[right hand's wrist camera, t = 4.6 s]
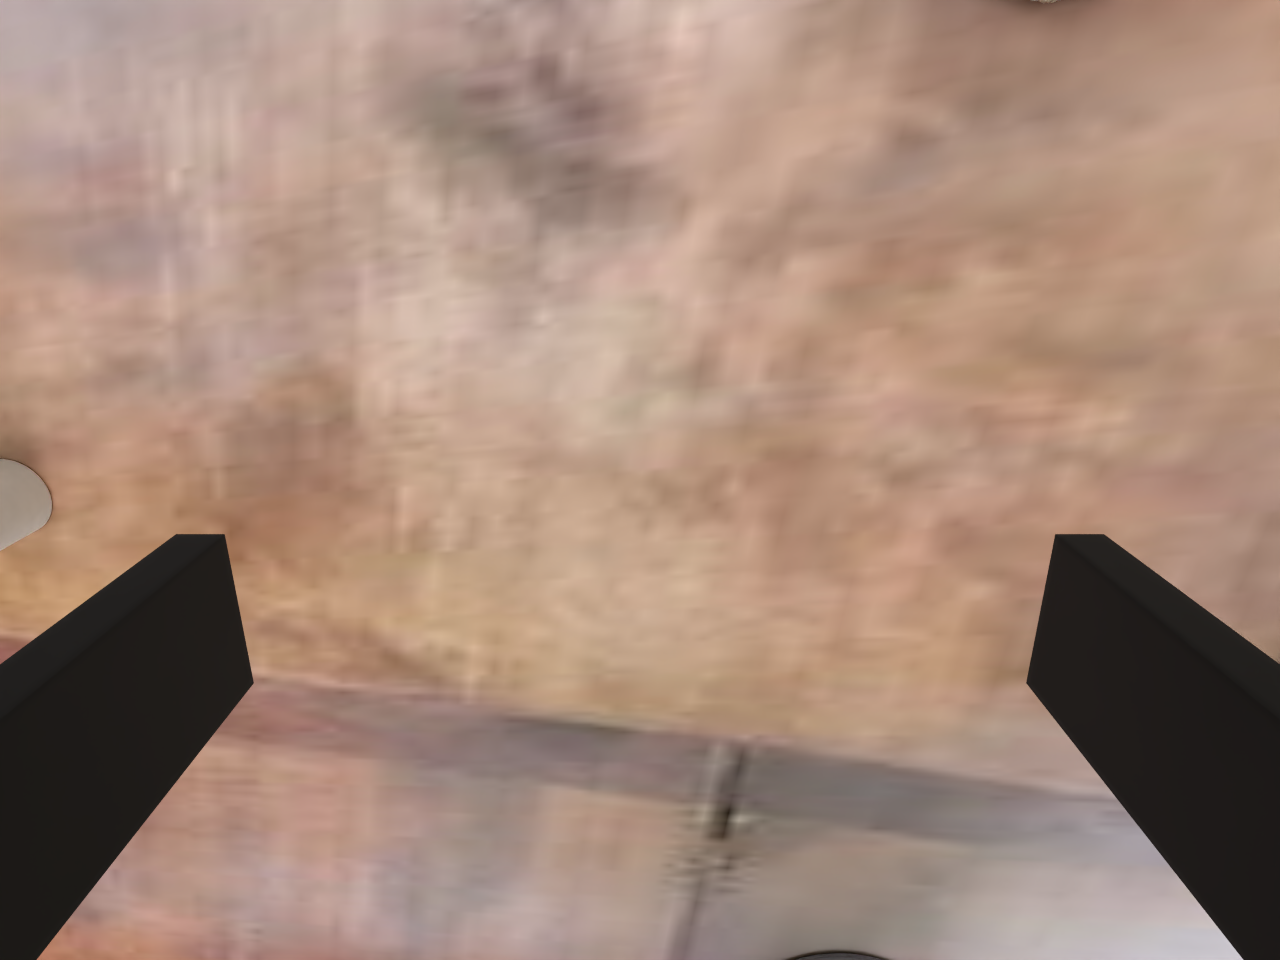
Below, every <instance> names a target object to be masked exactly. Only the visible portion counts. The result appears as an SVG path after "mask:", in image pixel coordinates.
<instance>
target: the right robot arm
mask: <svg viewBox="0 0 1280 960" xmlns="http://www.w3.org/2000/svg"><path fill="white" fill-rule="evenodd" d="M253 683H254V682H253V677H252V672H251V667H250V662H249V657H248V652H247V646H246V641H245V636H244V631H243V626H242V621H241V616H240V611H239V606H238V600H237V595H236V590H235V585H234V580H233V575H232V570H231V565H230V560H229V554H228V549H227V544H226V539H225V534H176V535H175V536H173V537H172V538H170V539H169V540H168V541H166V542H165V543H164V544H162V545H161V546H160V547H158V548H157V549H156V550H154V551H153V552H152V553H150V554H149V555H147V556H146V557H145V558H143V559H142V560H141V561H139V562H138V563H137V564H135V565H134V566H133V567H131V568H130V569H129V570H127V571H126V572H125V573H123V574H122V575H120V576H119V577H118V578H116V579H115V580H114V581H112V582H111V583H110V584H108V585H107V586H106V587H104V588H103V589H102V590H100V591H99V592H97V593H96V594H95V595H93V596H92V597H91V598H89V599H88V600H87V601H85V602H84V603H83V604H81V605H80V606H79V607H77V608H76V609H75V610H73V611H72V612H70V613H69V614H68V615H66V616H65V617H64V618H62V619H61V620H60V621H58V622H57V623H56V624H54V625H53V626H52V627H50V628H49V629H47V630H46V631H45V632H43V633H42V634H41V635H39V636H38V637H37V638H35V639H34V640H33V641H31V642H30V643H29V644H27V645H26V646H25V647H23V648H22V649H20V650H19V651H18V652H16V653H15V654H14V655H12V656H11V657H10V658H8V659H7V660H6V661H4V662H3V663H2V664H0V960H37V958H38V957H39V956H40V954H41V953H42V952H43V951H44V949H45V948H46V947H47V946H48V944H49V943H50V942H51V940H52V939H53V938H54V937H55V935H56V934H57V933H58V932H59V930H60V929H61V928H62V926H63V925H64V924H65V923H66V921H67V920H68V919H69V918H70V916H71V915H72V914H73V912H74V911H75V910H76V909H77V907H78V906H79V905H80V904H81V902H82V901H83V900H84V898H85V897H86V896H87V895H88V893H89V892H90V891H91V890H92V888H93V887H94V886H95V884H96V883H97V882H98V881H99V879H100V878H101V877H102V876H103V874H104V873H105V872H106V870H107V869H108V868H109V867H110V865H111V864H112V863H113V862H114V860H115V859H116V858H117V856H118V855H119V854H120V853H121V851H122V850H123V849H124V848H125V846H126V845H127V844H128V842H129V841H130V840H131V839H132V837H133V836H134V835H135V834H136V832H137V831H138V830H139V828H140V827H141V826H142V825H143V823H144V822H145V821H146V820H147V818H148V817H149V816H150V814H151V813H152V812H153V811H154V809H155V808H156V807H157V805H158V804H159V803H160V802H161V800H162V799H163V798H164V797H165V795H166V794H167V793H168V791H169V790H170V789H171V788H172V786H173V785H174V784H175V783H176V781H177V780H178V779H179V777H180V776H181V775H182V774H183V772H184V771H185V770H186V769H187V767H188V766H189V765H190V763H191V762H192V761H193V760H194V758H195V757H196V756H197V755H198V753H199V752H200V751H201V749H202V748H203V747H204V746H205V744H206V743H207V742H208V741H209V739H210V738H211V737H212V735H213V734H214V733H215V732H216V730H217V729H218V728H219V727H220V725H221V724H222V723H223V721H224V720H225V719H226V718H227V716H228V715H229V714H230V713H231V711H232V710H233V709H234V707H235V706H236V705H237V704H238V702H239V701H240V700H241V699H242V697H243V696H244V695H245V693H246V692H247V691H248V690H249V688H250V687H251V686H252V685H253ZM1026 683H1027V685H1028V686H1029V687H1030V688H1031V690H1032V691H1033V692H1034V693H1035V695H1036V696H1037V697H1038V699H1039V700H1040V701H1041V702H1042V704H1043V705H1044V706H1045V707H1046V709H1047V710H1048V711H1049V713H1050V714H1051V715H1052V716H1053V718H1054V719H1055V720H1056V721H1057V723H1058V724H1059V725H1060V727H1061V728H1062V729H1063V730H1064V732H1065V733H1066V734H1067V735H1068V737H1069V738H1070V739H1071V741H1072V742H1073V743H1074V744H1075V746H1076V747H1077V748H1078V749H1079V751H1080V752H1081V753H1082V755H1083V756H1084V757H1085V758H1086V760H1087V761H1088V762H1089V763H1090V765H1091V766H1092V767H1093V769H1094V770H1095V771H1096V772H1097V774H1098V775H1099V776H1100V777H1101V779H1102V780H1103V781H1104V783H1105V784H1106V785H1107V786H1108V788H1109V789H1110V790H1111V791H1112V793H1113V794H1114V795H1115V797H1116V798H1117V799H1118V800H1119V802H1120V803H1121V804H1122V805H1123V807H1124V808H1125V809H1126V811H1127V812H1128V813H1129V814H1130V816H1131V817H1132V818H1133V820H1134V821H1135V822H1136V823H1137V825H1138V826H1139V827H1140V828H1141V830H1142V831H1143V832H1144V834H1145V835H1146V836H1147V837H1148V839H1149V840H1150V841H1151V842H1152V844H1153V845H1154V846H1155V848H1156V849H1157V850H1158V851H1159V853H1160V854H1161V855H1162V856H1163V858H1164V859H1165V860H1166V862H1167V863H1168V864H1169V865H1170V867H1171V868H1172V869H1173V870H1174V872H1175V873H1176V874H1177V876H1178V877H1179V878H1180V879H1181V881H1182V882H1183V883H1184V884H1185V886H1186V887H1187V888H1188V890H1189V891H1190V892H1191V893H1192V895H1193V896H1194V897H1195V898H1196V900H1197V901H1198V902H1199V904H1200V905H1201V906H1202V907H1203V909H1204V910H1205V911H1206V912H1207V914H1208V915H1209V916H1210V918H1211V919H1212V920H1213V921H1214V923H1215V924H1216V925H1217V926H1218V928H1219V929H1220V930H1221V932H1222V933H1223V934H1224V935H1225V937H1226V938H1227V939H1228V940H1229V942H1230V943H1231V944H1232V946H1233V947H1234V948H1235V949H1236V951H1237V952H1238V953H1239V954H1240V956H1241V957H1242V958H1243V960H1280V664H1278V663H1277V662H1276V661H1274V660H1273V659H1272V658H1270V657H1269V656H1268V655H1266V654H1265V653H1264V652H1262V651H1261V650H1260V649H1258V648H1257V647H1255V646H1254V645H1253V644H1251V643H1250V642H1249V641H1247V640H1246V639H1245V638H1243V637H1242V636H1241V635H1239V634H1238V633H1237V632H1235V631H1234V630H1233V629H1231V628H1230V627H1228V626H1227V625H1226V624H1224V623H1223V622H1222V621H1220V620H1219V619H1218V618H1216V617H1215V616H1214V615H1212V614H1211V613H1210V612H1208V611H1207V610H1205V609H1204V608H1203V607H1201V606H1200V605H1199V604H1197V603H1196V602H1195V601H1193V600H1192V599H1191V598H1189V597H1188V596H1187V595H1185V594H1184V593H1183V592H1181V591H1180V590H1178V589H1177V588H1176V587H1174V586H1173V585H1172V584H1170V583H1169V582H1168V581H1166V580H1165V579H1164V578H1162V577H1161V576H1160V575H1158V574H1157V573H1155V572H1154V571H1153V570H1151V569H1150V568H1149V567H1147V566H1146V565H1145V564H1143V563H1142V562H1141V561H1139V560H1138V559H1137V558H1135V557H1134V556H1133V555H1131V554H1130V553H1128V552H1127V551H1126V550H1124V549H1123V548H1122V547H1120V546H1119V545H1118V544H1116V543H1115V542H1114V541H1112V540H1111V539H1110V538H1108V537H1107V536H1105V535H1104V534H1055V539H1054V544H1053V549H1052V554H1051V560H1050V565H1049V570H1048V575H1047V580H1046V585H1045V590H1044V595H1043V600H1042V606H1041V611H1040V616H1039V621H1038V626H1037V631H1036V636H1035V641H1034V646H1033V652H1032V657H1031V662H1030V667H1029V672H1028V677H1027V682H1026ZM796 960H882V959H878V958H874V957H870V956H865V955H858V954H846V953H833V954H820V955H813V956H808V957H803V958H799V959H796Z"/></svg>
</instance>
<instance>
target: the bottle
mask: <svg viewBox="0 0 1280 960" xmlns="http://www.w3.org/2000/svg"><path fill="white" fill-rule="evenodd" d="M51 511H52V500H51V495H50V493H49V490H48V488H47V486H46V485H45V483H44V482H43V480H42V479H41V478H40V477H39V476H38V475H37V474H36V473H35V472H34V471H32V470H31V469H30V468H28V467H27V466H25V465H23V464H21V463H18V462H16V461H12V460H7V459H0V551H1V550H3V549H4V548H6V547H8V546H10V545H12V544H13V543H15V542H17V541H19V540H21V539H22V538H24V537H26V536H28V535H29V534H31V533H33V532H35V531H37V530H38V529H40V528H41V527H43V526H44V525H45V524H46V522H47V521H48V519H49V517H50V515H51Z"/></svg>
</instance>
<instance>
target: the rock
mask: <svg viewBox="0 0 1280 960" xmlns="http://www.w3.org/2000/svg"><path fill="white" fill-rule="evenodd" d="M1031 1H1040V2H1041V3H1043V4H1044V3H1049V4H1050V3H1053V2H1056V1H1059V0H1031Z"/></svg>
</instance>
